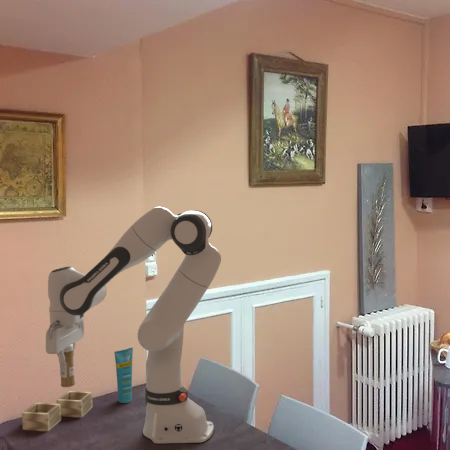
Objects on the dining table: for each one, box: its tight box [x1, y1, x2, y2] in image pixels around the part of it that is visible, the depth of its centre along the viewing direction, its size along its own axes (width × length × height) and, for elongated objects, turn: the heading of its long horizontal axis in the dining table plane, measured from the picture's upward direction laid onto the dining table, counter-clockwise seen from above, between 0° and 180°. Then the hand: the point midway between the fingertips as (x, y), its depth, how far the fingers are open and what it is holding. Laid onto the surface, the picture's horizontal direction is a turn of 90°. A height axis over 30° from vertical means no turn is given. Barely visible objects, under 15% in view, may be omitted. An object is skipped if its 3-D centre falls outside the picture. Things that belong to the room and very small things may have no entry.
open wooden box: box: [56, 390, 93, 419], centre depth 205 cm, size 9×9×6 cm
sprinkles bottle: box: [59, 344, 76, 388], centre depth 190 cm, size 5×5×13 cm
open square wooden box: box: [21, 402, 62, 432], centre depth 195 cm, size 9×9×6 cm
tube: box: [113, 347, 134, 404], centre depth 214 cm, size 7×5×19 cm, turn 134°
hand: (66, 359), depth 190 cm, fingers closed on sprinkles bottle, 4 cm apart
